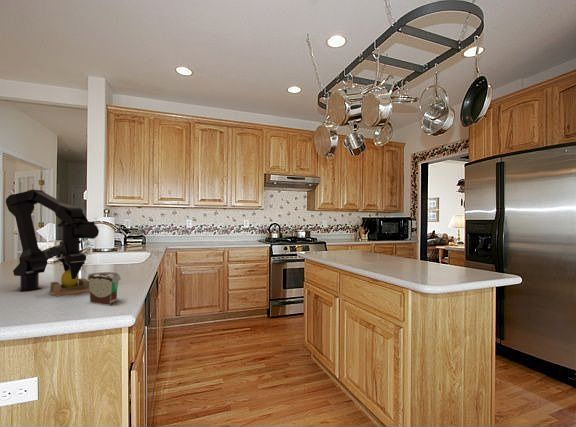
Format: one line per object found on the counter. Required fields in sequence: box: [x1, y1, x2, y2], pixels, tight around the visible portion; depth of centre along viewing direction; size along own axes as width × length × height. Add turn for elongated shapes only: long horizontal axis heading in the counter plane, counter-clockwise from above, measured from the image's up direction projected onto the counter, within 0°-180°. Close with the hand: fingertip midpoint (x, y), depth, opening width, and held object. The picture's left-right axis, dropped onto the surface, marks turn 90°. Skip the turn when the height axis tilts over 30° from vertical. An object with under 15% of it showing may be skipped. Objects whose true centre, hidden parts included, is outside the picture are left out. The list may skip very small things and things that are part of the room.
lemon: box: [60, 269, 79, 288], centre depth 119 cm, size 6×6×8 cm
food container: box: [86, 271, 121, 306], centre depth 107 cm, size 12×6×10 cm, turn 71°
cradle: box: [49, 277, 89, 297], centre depth 119 cm, size 9×12×4 cm
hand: (70, 277), depth 119 cm, fingers open, 9 cm apart
